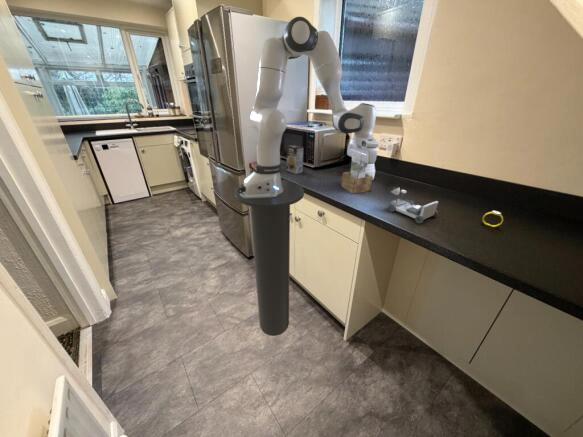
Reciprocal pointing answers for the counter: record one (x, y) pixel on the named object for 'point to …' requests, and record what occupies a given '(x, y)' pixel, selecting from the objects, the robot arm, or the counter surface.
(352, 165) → the syrup box
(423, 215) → the toy car
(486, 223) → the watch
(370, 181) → the box
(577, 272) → the counter surface
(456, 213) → the counter surface
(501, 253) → the counter surface
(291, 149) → the coffee box
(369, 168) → the honey pot
